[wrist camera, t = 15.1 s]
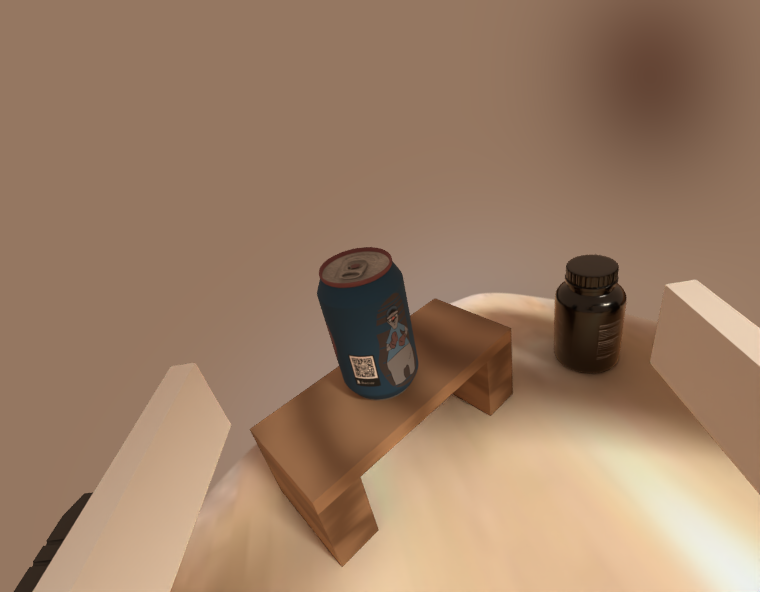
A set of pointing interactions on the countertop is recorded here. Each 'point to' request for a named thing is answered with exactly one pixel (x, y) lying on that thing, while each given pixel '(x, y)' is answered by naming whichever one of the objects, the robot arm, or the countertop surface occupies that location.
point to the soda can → (369, 322)
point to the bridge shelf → (378, 421)
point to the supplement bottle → (589, 315)
